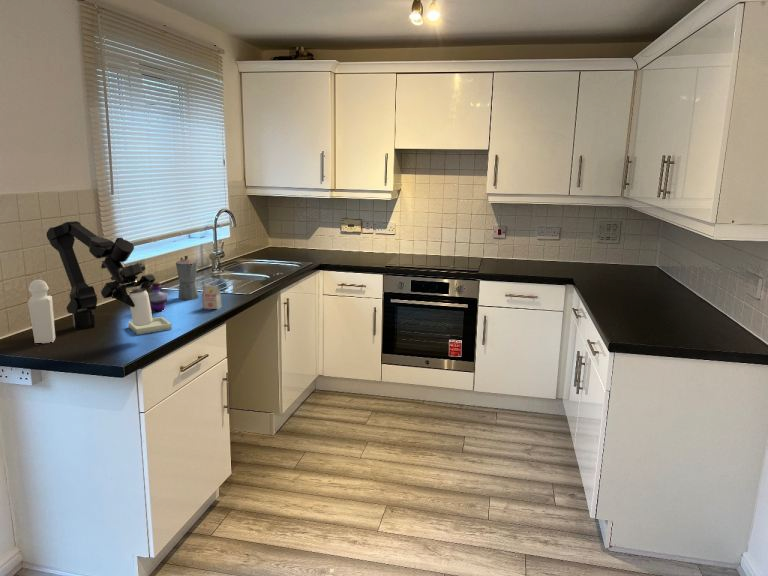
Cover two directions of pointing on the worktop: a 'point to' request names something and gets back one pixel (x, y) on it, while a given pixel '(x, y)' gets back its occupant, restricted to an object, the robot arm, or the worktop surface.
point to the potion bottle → (157, 298)
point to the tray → (151, 326)
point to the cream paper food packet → (211, 297)
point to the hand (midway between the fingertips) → (141, 304)
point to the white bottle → (41, 312)
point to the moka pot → (187, 279)
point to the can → (140, 307)
